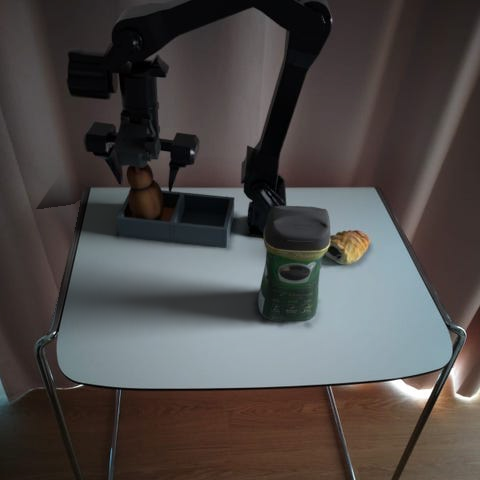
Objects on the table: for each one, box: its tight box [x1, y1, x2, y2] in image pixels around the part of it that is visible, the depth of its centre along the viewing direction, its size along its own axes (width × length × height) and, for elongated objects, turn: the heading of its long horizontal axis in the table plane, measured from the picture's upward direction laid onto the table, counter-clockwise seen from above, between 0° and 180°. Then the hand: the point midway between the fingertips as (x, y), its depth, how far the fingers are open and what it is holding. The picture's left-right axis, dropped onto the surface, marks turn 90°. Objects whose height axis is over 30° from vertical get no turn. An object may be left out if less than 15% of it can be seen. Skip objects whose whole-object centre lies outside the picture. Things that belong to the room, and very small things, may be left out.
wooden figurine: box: [125, 163, 163, 220], centre depth 90 cm, size 7×6×15 cm
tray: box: [115, 189, 235, 248], centre depth 94 cm, size 20×11×4 cm, turn 83°
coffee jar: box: [257, 205, 331, 323], centre depth 75 cm, size 10×8×19 cm
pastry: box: [323, 229, 371, 265], centre depth 91 cm, size 9×7×4 cm
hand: (145, 186), depth 90 cm, fingers open, 9 cm apart
